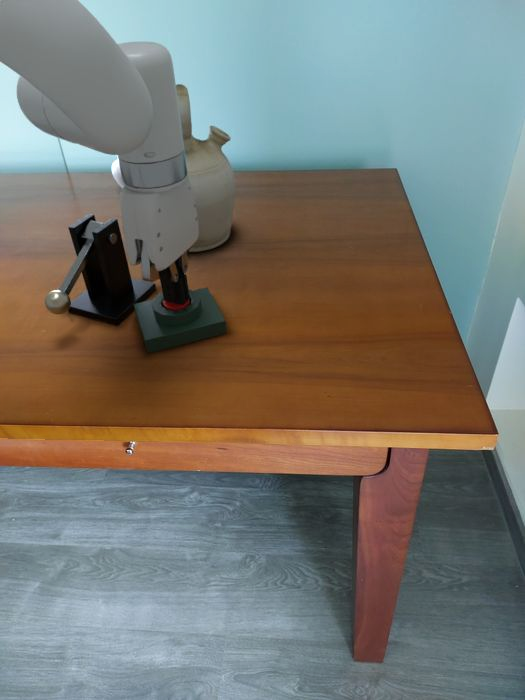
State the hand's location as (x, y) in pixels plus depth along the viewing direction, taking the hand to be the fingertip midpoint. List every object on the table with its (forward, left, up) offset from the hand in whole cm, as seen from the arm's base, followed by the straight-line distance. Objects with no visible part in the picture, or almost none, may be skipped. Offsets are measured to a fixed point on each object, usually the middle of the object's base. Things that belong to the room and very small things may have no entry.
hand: (177, 299), depth 72 cm
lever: (-11, +7, +3) cm, 13 cm away
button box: (0, 0, -4) cm, 4 cm away
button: (0, 0, -2) cm, 2 cm away
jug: (+9, +25, -4) cm, 27 cm away
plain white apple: (+2, +52, -4) cm, 52 cm away
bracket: (-8, +10, -4) cm, 14 cm away
